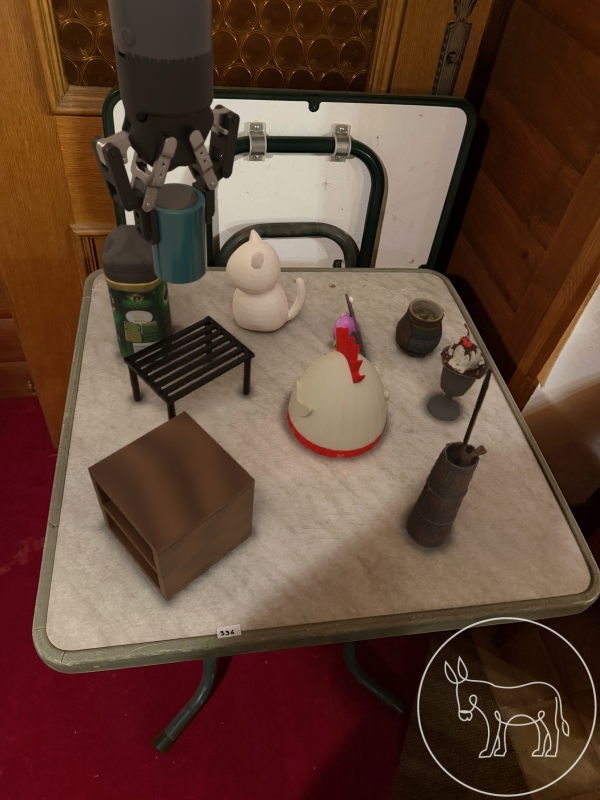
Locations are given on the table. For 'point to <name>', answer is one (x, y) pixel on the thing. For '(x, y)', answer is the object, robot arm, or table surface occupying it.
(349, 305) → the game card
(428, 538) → the butter churn
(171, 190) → the cup
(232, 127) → the robot arm
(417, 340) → the mate gourd
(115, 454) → the shelf
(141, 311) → the coffee jar
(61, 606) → the table surface
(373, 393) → the kitchen timer
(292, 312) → the cat figurine
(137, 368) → the rack
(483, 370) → the sundae
